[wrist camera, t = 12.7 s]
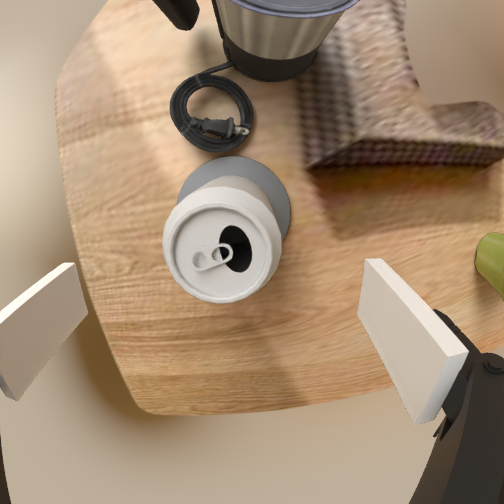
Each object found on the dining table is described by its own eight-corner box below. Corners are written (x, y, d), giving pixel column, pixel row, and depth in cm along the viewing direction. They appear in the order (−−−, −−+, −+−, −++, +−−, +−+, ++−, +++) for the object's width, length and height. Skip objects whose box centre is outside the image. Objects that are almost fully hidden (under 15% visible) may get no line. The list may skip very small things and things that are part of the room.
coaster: (174, 159, 27) (172, 160, 26) (289, 155, 27) (290, 155, 26) (183, 266, 30) (181, 268, 30) (288, 264, 30) (289, 267, 29)
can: (278, 242, 29) (295, 301, 17) (204, 258, 29) (176, 323, 18) (262, 166, 26) (269, 175, 15) (184, 185, 27) (137, 208, 15)
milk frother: (312, 7, 21) (352, -77, 7) (329, 146, 26) (401, 143, 12) (174, 17, 22) (121, -60, 8) (181, 157, 27) (112, 164, 13)
